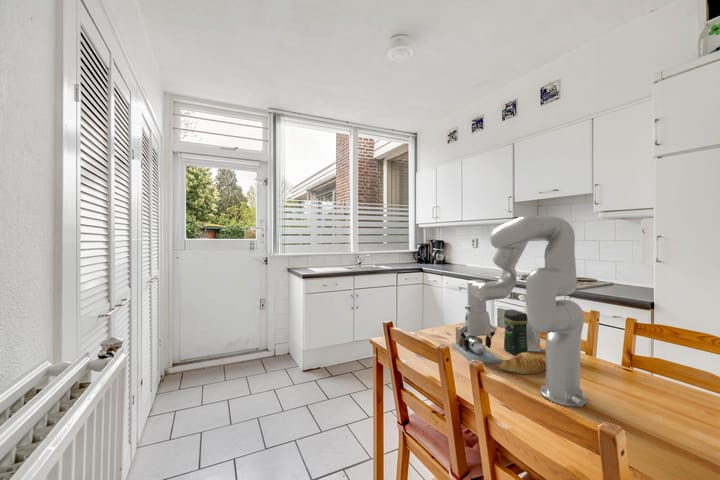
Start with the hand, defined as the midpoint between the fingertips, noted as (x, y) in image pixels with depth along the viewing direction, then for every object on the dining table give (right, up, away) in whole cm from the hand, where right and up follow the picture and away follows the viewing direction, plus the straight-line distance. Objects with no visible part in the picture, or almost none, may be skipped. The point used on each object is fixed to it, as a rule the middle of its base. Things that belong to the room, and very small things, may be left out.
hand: (477, 347), depth 140 cm
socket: (-1, -2, +11) cm, 11 cm away
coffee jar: (+19, -4, +4) cm, 19 cm away
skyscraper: (+27, -3, +6) cm, 28 cm away
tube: (0, -2, +4) cm, 5 cm away
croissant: (+13, -4, -14) cm, 20 cm away
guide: (0, -2, +5) cm, 5 cm away
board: (0, -4, +3) cm, 4 cm away
